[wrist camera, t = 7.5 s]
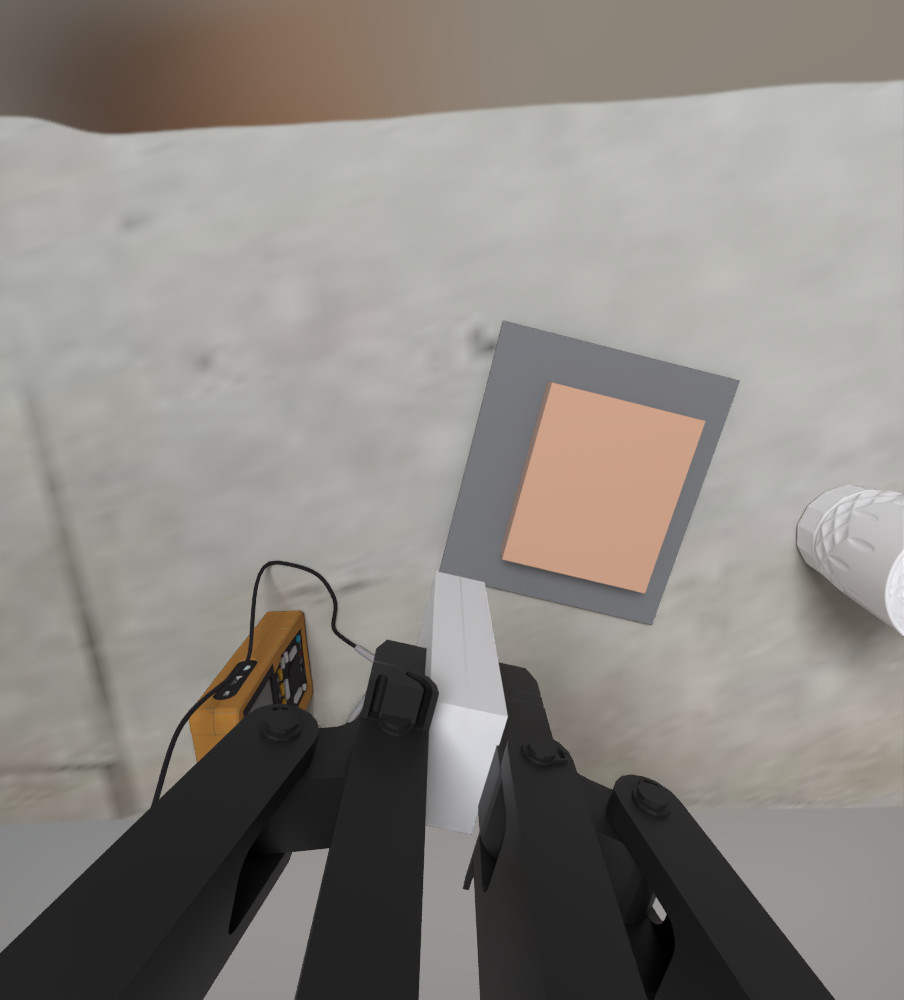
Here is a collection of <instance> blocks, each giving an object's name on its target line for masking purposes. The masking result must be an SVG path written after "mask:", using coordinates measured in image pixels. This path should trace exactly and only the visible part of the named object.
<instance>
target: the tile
mask: <svg viewBox="0 0 904 1000" xmlns="http://www.w3.org/2000/svg"><path fill="white" fill-rule="evenodd" d="M705 422H706V421H703V420H700V419H696V418H693V417H689V416H685V415H681V414H677V413H673V412H669V411H665V410H661V409H657V408H653V407H649V406H645V405H641V404H637V403H633V402H629V401H625V400H621V399H617V398H613V397H609V396H605V395H601V394H597V393H593V392H589V391H585V390H581V389H577V388H573V387H569V386H565V385H561V384H557V383H553V382H549V381H547V385H546V388H545V392H544V395H543V399H542V403H541V406H540V410H539V413H538V417H537V420H536V424H535V428H534V431H533V435H532V438H531V442H530V446H529V449H528V453H527V456H526V460H525V463H524V467H523V471H522V474H521V478H520V481H519V485H518V489H517V492H516V496H515V499H514V503H513V506H512V510H511V514H510V517H509V521H508V524H507V528H506V531H505V535H504V539H503V542H502V546H501V549H500V550H501V556H502V560H507V561H511V562H515V563H519V564H523V565H528V566H532V567H536V568H540V569H544V570H549V571H553V572H557V573H561V574H565V575H570V576H574V577H578V578H582V579H586V580H591V581H595V582H599V583H603V584H607V585H612V586H616V587H620V588H624V589H628V590H633V591H637V592H641V593H645V592H646V589H647V586H648V583H649V581H650V578H651V575H652V572H653V569H654V566H655V564H656V561H657V558H658V555H659V552H660V549H661V547H662V544H663V541H664V538H665V535H666V532H667V529H668V527H669V524H670V521H671V518H672V515H673V512H674V510H675V507H676V504H677V501H678V498H679V495H680V493H681V490H682V487H683V484H684V481H685V478H686V476H687V473H688V470H689V467H690V464H691V461H692V458H693V456H694V453H695V450H696V447H697V444H698V441H699V439H700V436H701V433H702V430H703V427H704V424H705Z"/></svg>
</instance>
